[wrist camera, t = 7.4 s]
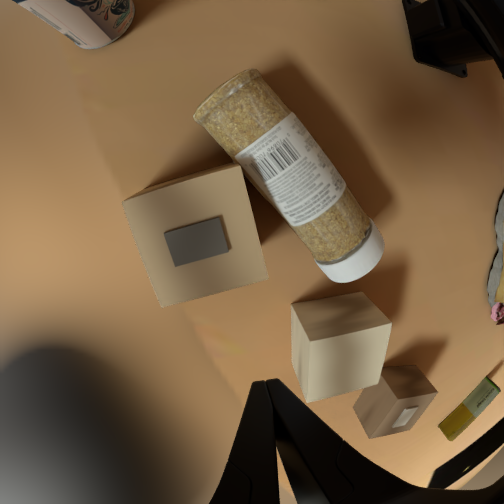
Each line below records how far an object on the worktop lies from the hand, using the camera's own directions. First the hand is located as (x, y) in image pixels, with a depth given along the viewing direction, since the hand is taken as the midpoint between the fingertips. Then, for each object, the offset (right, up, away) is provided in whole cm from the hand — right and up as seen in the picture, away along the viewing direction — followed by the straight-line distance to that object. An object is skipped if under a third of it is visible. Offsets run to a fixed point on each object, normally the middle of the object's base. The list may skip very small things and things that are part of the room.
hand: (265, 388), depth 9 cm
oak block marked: (-4, +7, +10) cm, 13 cm away
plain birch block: (+6, -2, +14) cm, 16 cm away
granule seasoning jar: (-2, +13, +5) cm, 15 cm away
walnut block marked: (+14, -10, +19) cm, 26 cm away
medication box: (+35, -21, +26) cm, 48 cm away
